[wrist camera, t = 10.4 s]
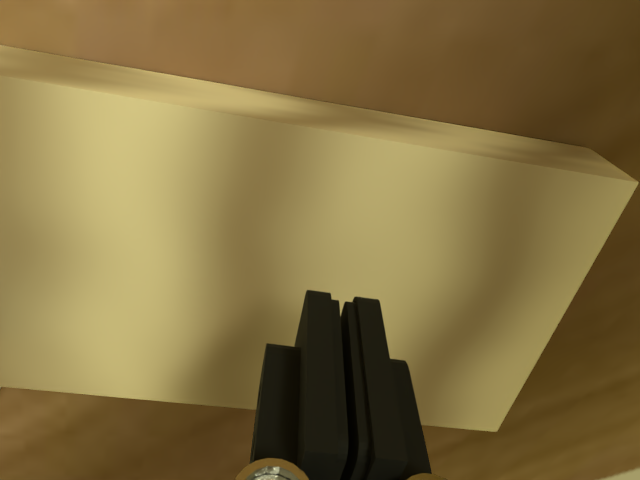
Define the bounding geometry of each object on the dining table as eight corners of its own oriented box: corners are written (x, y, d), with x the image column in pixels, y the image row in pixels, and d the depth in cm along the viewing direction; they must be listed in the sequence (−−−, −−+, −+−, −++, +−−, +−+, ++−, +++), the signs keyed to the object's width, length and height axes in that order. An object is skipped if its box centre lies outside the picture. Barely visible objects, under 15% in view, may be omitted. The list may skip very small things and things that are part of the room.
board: (589, 148, 14) (639, 182, 12) (475, 379, 20) (496, 431, 17) (-56, 35, 12) (-131, 53, 10) (3, 329, 17) (-38, 382, 15)
